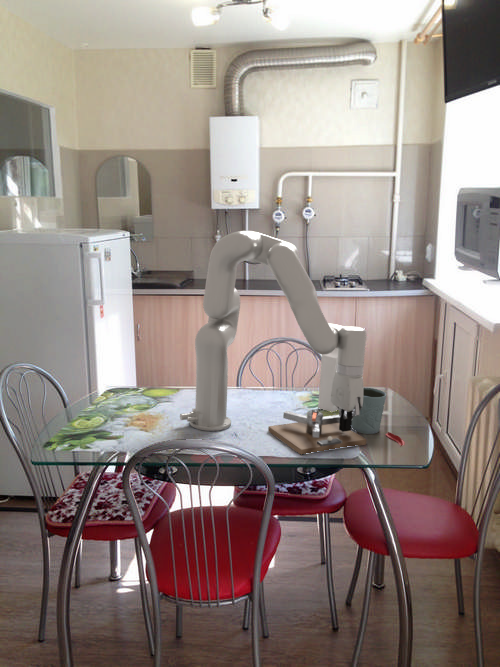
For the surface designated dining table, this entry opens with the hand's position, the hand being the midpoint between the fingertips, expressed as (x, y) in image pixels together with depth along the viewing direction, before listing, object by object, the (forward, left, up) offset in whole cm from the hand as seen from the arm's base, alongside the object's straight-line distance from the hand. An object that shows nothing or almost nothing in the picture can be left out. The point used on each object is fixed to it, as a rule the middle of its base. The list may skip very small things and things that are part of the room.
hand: (344, 430), depth 174 cm
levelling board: (-7, +4, -3) cm, 9 cm away
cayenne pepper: (+15, -5, -4) cm, 16 cm away
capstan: (-6, +4, -1) cm, 7 cm away
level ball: (-8, -4, -1) cm, 9 cm away
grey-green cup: (+12, +5, -3) cm, 14 cm away
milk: (+12, +25, -3) cm, 28 cm away
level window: (-8, -4, -1) cm, 9 cm away
